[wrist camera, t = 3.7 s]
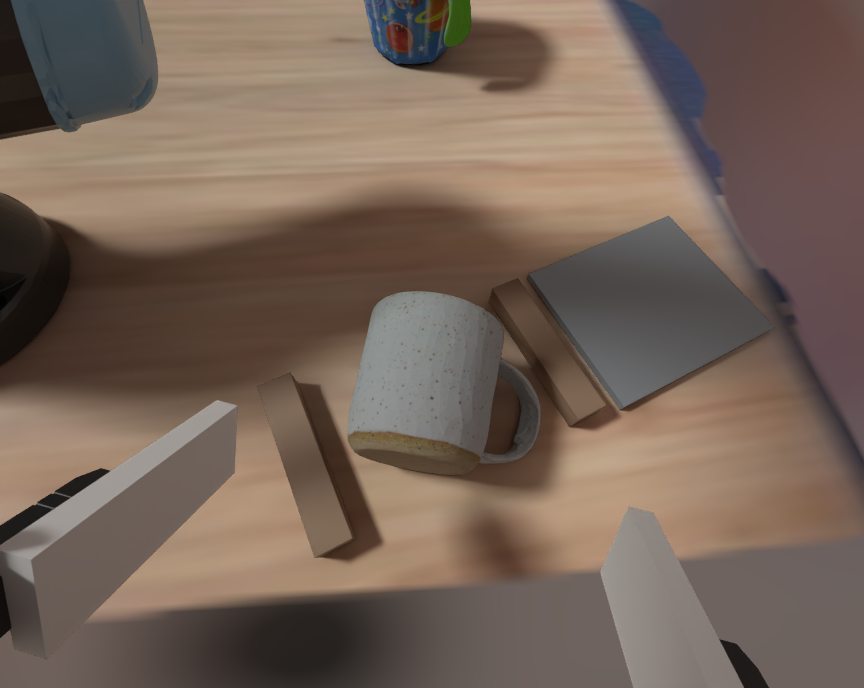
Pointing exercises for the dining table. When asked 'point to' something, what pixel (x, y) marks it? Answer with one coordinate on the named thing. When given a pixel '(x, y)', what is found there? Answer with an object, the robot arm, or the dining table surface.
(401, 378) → the ceramic mug
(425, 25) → the snack cup
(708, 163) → the dining table surface
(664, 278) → the slate mat
